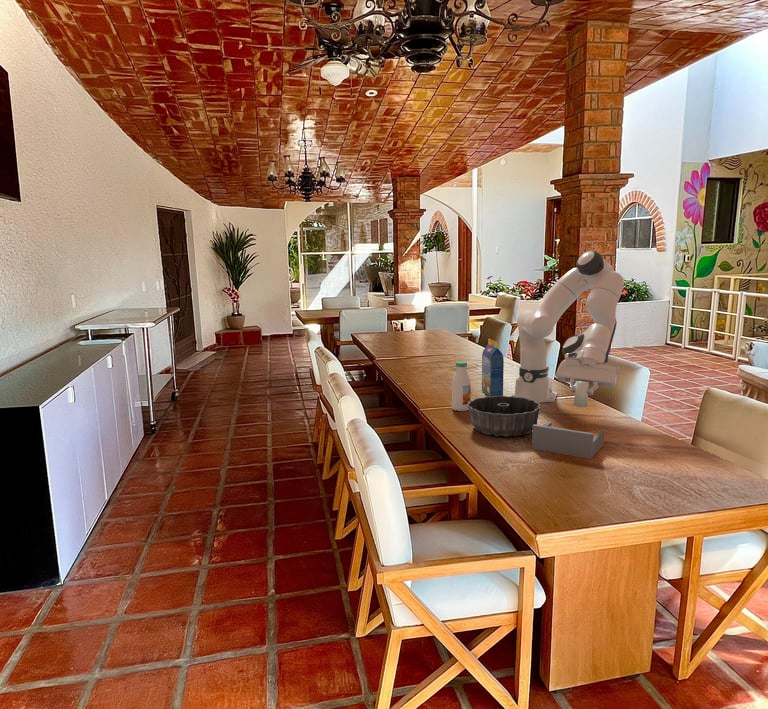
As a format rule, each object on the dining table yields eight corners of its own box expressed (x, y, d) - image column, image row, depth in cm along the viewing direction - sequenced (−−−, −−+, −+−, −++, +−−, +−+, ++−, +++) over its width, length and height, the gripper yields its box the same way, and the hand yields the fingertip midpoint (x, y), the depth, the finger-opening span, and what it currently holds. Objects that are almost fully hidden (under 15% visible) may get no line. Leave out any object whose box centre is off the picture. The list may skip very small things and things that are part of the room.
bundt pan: (451, 430, 208) (451, 403, 207) (497, 415, 225) (497, 391, 223) (509, 447, 188) (510, 418, 187) (554, 430, 205) (555, 404, 203)
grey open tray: (547, 434, 200) (548, 413, 199) (603, 444, 190) (604, 421, 188) (532, 448, 187) (532, 425, 185) (591, 459, 176) (592, 434, 175)
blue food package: (490, 397, 253) (490, 342, 248) (481, 391, 264) (481, 338, 260) (503, 396, 254) (504, 342, 249) (494, 390, 265) (495, 338, 261)
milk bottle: (456, 412, 231) (456, 364, 227) (449, 407, 238) (449, 361, 234) (473, 410, 233) (473, 363, 229) (465, 405, 240) (466, 359, 236)
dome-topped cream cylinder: (576, 403, 201) (577, 379, 199) (588, 405, 198) (590, 381, 197) (572, 405, 197) (574, 381, 196) (585, 407, 195) (587, 383, 193)
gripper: (622, 370, 199) (613, 402, 193) (564, 363, 211) (554, 393, 204) (620, 359, 195) (611, 391, 189) (561, 353, 206) (551, 383, 200)
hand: (581, 392), depth 196 cm, fingers closed on dome-topped cream cylinder, 4 cm apart
